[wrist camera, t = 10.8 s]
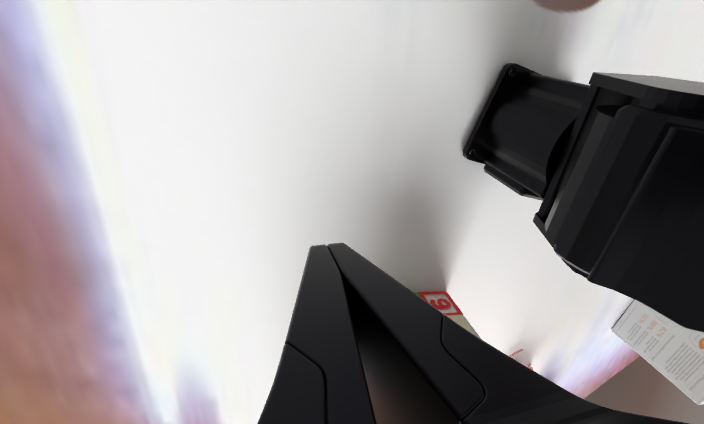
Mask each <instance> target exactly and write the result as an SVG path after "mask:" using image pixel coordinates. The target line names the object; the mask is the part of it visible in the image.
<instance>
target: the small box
mask: <svg viewBox="0 0 704 424" xmlns="http://www.w3.org/2000/svg"><path fill="white" fill-rule="evenodd" d="M612 332H614V333H615V334H616V335H617V336H618V337H619V338H621V339H622V340H623V341H624V342H625V343H626V344H628V345H629V346H630V347H631V348H632V349H633V350H635V351H636V352H637V353H638V354H639V355H641V356H642V357H643V358H644V359H645V360H647V361H648V362H649V363H650V364H651V365H652V366H653V367H655V368H656V369H657V370H658V371H659V372H661V373H662V374H663V375H664V376H665V377H666V378H667V379H668V380H670V381H671V382H672V383H673V384H674V385H675V386H677V387H678V388H679V389H680V390H681V391H682V392H684V393H685V394H686V395H687V396H688V397H689V398H691V399H692V400H693V401H694V402H695V403H697V404H698V405H701V404H704V332H700V331H696V330H691V329H687V328H684V327H682V326H680V325H679V324H677V323H675V322H674V321H672V320H670V319H668V318H667V317H665V316H663V315H662V314H660V313H658V312H657V311H655V310H653V309H652V308H650V307H648V306H646V305H644V304H643V303H641V302H639V301H637V300H634V301H633V302H632V304H631V305H630V306H629V307H628V309H627V310H626V312H625V313H624V314H623V315H622V317H621V318H620V319H619V321H618V322H617V323H616V325H615V326H614V327H613V329H612Z"/></svg>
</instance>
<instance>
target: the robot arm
mask: <svg viewBox="0 0 704 424" xmlns="http://www.w3.org/2000/svg"><path fill="white" fill-rule="evenodd" d="M511 69H512V72H511V74H510V75H509V71H510V70H511ZM589 84H590V85H585V84H580V83H576V82H571V81H567V80H562V79H558V78H553V77H548V76H544V75H541V74H538V73H536V72H534V71H532V70H529V69H527V68H525V67H523V66H520V65H518V64H515V63H508V64H506V65H505V66H504V68H503V69H502V71H501V73H500V75H499V78H498V80H497V82H496V84H495V86H494V88H493V90H492V92H491V94H490V96H489V98H488V100H487V102H486V104H485V107H484V109H483V111H482V113H481V115H480V117H479V119H478V121H477V123H476V125H475V127H474V129H473V131H472V134H471V136H470V138H469V140H468V142H467V144H466V146H465V148H464V150H463V156H464V157H465V158H467V159H469V160H472V161H475V162H479V163H483V164H485V166H484V170H485V172H486V173H488V174H489V175H491V176H492V177H494V178H495V179H497V180H498V181H500V182H501V183H503V184H504V185H506V186H507V187H509V188H510V189H512V190H513V191H515V192H516V193H518V194H519V195H521V196H525V197H530V198H534V199H538V200H543V202H542V204H541V206H540V209H539V211H538V212H537V213H536V214H535V217H534V219H533V222H534V223H535V225H536V226H537V227H538V229H539V230H540V231H541V232H542V234H543V235H544V236H545V238H546V239H547V240H548V242H549V243H550V244H551V246H552V247H553V248H554V251H555V252H556V254H557V255H558V256H559V257H561V259H562V260H563V261H564V262H565V263H566V264H567V265H568V266H569V267H570V268H571V269H572V270H573V271H574V272H576V273H578V274H580V275H582V276H584V277H586V278H587V280H588V281H590V282H592V283H594V284H597V285H600V286H603V287H606V288H609V289H612V290H615V291H617V292H620V293H622V294H624V295H626V296H628V297H631V298H633V299H635V300H637V301H639V302H641V303H643V304H644V305H646V306H648V307H650V308H652V309H653V310H655V311H657V312H658V313H660V314H662V315H663V316H665V317H667V318H668V319H670V320H672V321H674V322H675V323H677V324H679V325H680V326H682V327H684V328H687V329H691V330H696V331H700V332H704V83H702V82H695V81H687V80H680V79H673V78H666V77H659V76H644V75H629V74H613V73H597V72H593V74H592V76H591V79H590V81H589ZM471 150H472V153H471V154H469V153H470V151H471ZM258 424H688V423H683V422H677V421H672V420H666V419H660V418H655V417H649V416H643V415H637V414H632V413H626V412H621V411H616V410H612V409H609V408H605V407H601V406H599V405H596V404H594V403H591V402H588V401H586V400H584V399H582V398H580V397H578V396H576V395H574V394H572V393H570V392H568V391H567V390H565V389H563V388H561V387H560V386H558V385H556V384H555V383H553V382H551V381H550V380H548V379H546V378H545V377H543V376H541V375H539V374H538V373H536V372H534V371H533V370H531V369H529V368H528V367H526V366H524V365H523V364H521V363H519V362H517V361H516V360H514V359H512V358H511V357H509V356H507V355H506V354H504V353H502V352H501V351H499V350H497V349H496V348H494V347H493V346H491V345H489V344H488V343H486V342H484V341H483V340H481V339H480V338H478V337H477V336H475V335H474V334H472V333H471V332H469V331H468V330H466V329H465V328H463V327H462V326H460V325H459V324H457V323H456V322H455V321H453V320H452V319H450V318H449V317H447V316H446V315H443V314H442V312H440V311H439V310H437V309H436V308H435V307H433V306H432V305H430V304H429V303H427V302H426V301H425V300H423V299H422V298H420V297H419V296H418V295H416V294H415V293H413V292H412V291H411V290H409V289H408V288H406V287H405V286H403V285H402V284H401V283H399V282H398V281H396V280H395V279H394V278H392V277H391V276H389V275H388V274H386V273H385V272H384V271H382V270H381V269H379V268H378V267H377V266H375V265H374V264H372V263H371V262H370V261H368V260H367V259H365V258H364V257H362V256H361V255H360V254H358V253H357V252H355V251H354V250H353V249H351V248H350V247H348V246H347V245H345V244H344V243H334V244H328V245H327V246H326V245H316V246H311V247H310V249H309V253H308V257H307V261H306V265H305V268H304V272H303V276H302V280H301V284H300V288H299V291H298V295H297V299H296V303H295V307H294V311H293V314H292V318H291V322H290V326H289V330H288V334H287V337H286V341H285V345H284V348H283V352H282V356H281V359H280V363H279V366H278V369H277V373H276V376H275V379H274V382H273V385H272V388H271V391H270V393H269V396H268V399H267V401H266V404H265V406H264V409H263V412H262V414H261V416H260V419H259V421H258Z"/></svg>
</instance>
